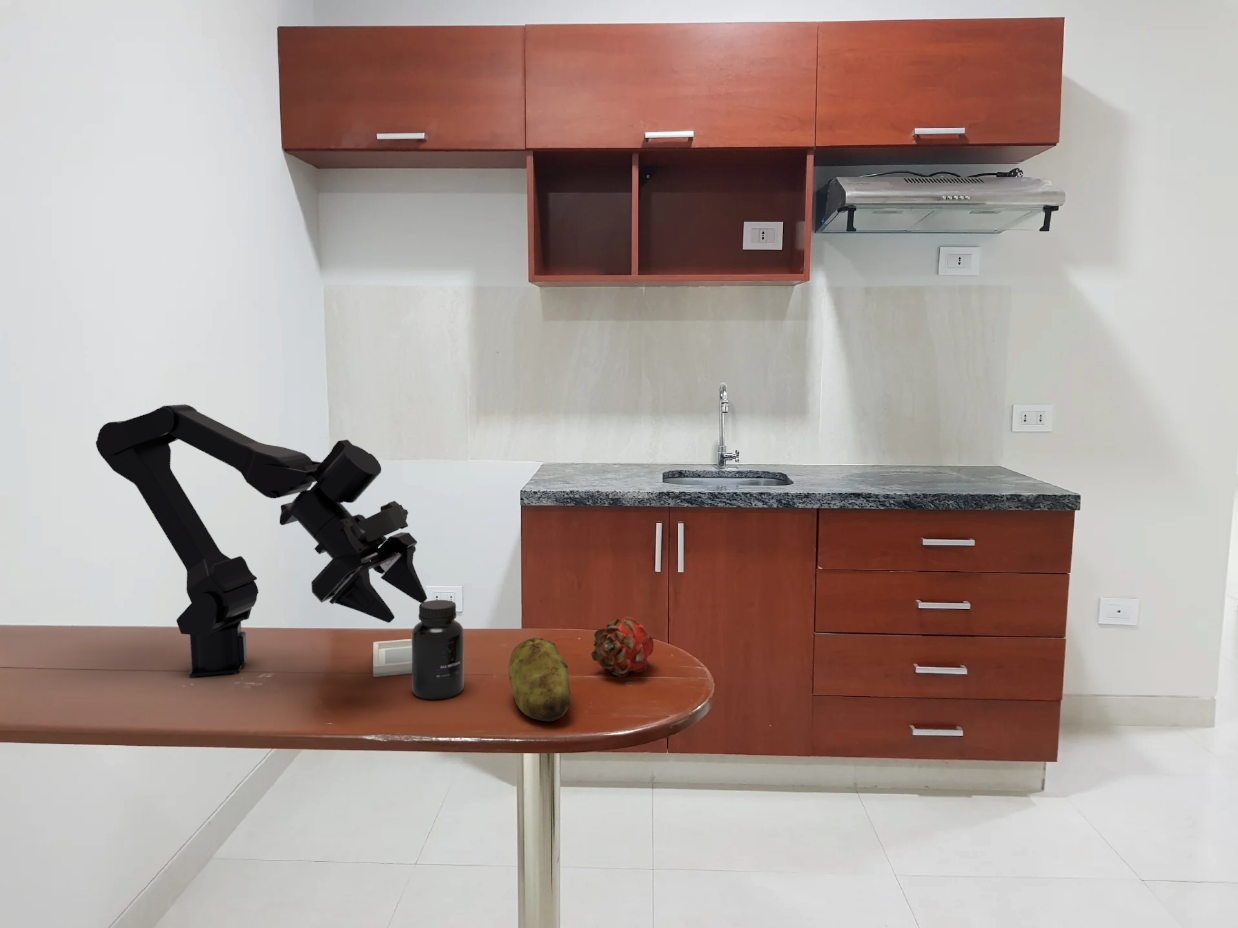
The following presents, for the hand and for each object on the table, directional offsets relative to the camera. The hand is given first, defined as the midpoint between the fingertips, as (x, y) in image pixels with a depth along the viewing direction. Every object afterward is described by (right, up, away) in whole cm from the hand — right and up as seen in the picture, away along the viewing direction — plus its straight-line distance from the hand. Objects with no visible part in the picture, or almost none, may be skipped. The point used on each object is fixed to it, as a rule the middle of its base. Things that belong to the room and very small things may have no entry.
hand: (409, 610), depth 114 cm
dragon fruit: (+29, -10, +8) cm, 32 cm away
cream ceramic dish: (-3, -9, +12) cm, 15 cm away
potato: (+18, -12, -5) cm, 22 cm away
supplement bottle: (+4, -11, 0) cm, 12 cm away
